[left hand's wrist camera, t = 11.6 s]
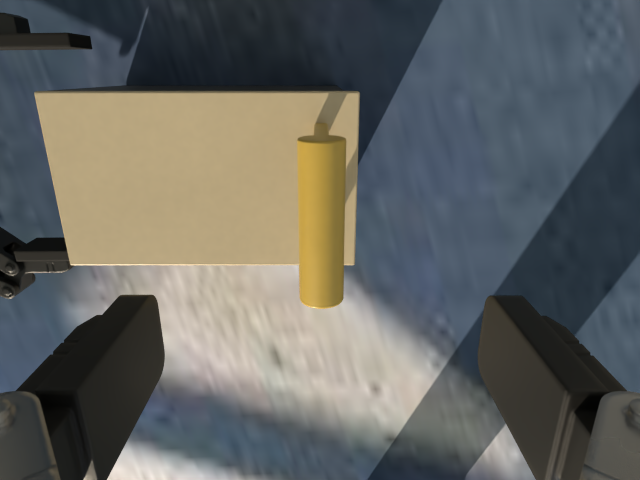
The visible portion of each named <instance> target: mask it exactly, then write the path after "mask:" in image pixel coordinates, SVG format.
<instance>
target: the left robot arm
mask: <svg viewBox="0 0 640 480" xmlns="http://www.w3.org/2000/svg"><path fill="white" fill-rule="evenodd" d="M164 358H165V353H164V344H163V337H162V330H161V323H160V316H159V309H158V303H157V300H156V298H155V296H154V295H120V296H119V297H118V298H117V299H116V300H115V301H114V302H113V303H112V305H111V306H110V307H109V308H108V309H107V310H106V311H105V312H104V313H103V315H96V316H95V317H93V318H91V319H89V320H88V321H86V322H84V323H83V324H81V325H79V326H77V327H76V328H75V329H74V330H73V331H72V333H71V334H70V335H69V336H68V337H67V338H66V339H65V340H64V343H61V344H60V345H59V346H58V347H57V348H56V349H55V350H54V351H53V355H50V356H49V357H48V358H47V359H46V360H45V361H44V362H43V363H42V364H41V365H40V366H39V367H38V368H37V369H36V370H35V371H34V372H33V373H32V374H31V375H30V376H29V378H28V379H27V380H26V381H25V382H24V383H23V384H22V385H21V386H20V387H19V388H18V389H17V390H16V391H11V392H4V393H0V480H107V478H108V476H109V474H110V472H111V470H112V469H113V467H114V465H115V463H116V461H117V459H118V457H119V455H120V453H121V451H122V449H123V448H124V446H125V444H126V442H127V440H128V438H129V436H130V434H131V432H132V430H133V428H134V427H135V425H136V423H137V421H138V419H139V417H140V415H141V413H142V411H143V409H144V407H145V406H146V404H147V402H148V400H149V398H150V396H151V394H152V392H153V390H154V388H155V387H156V385H157V383H158V381H159V379H160V377H161V374H162V371H163V367H164ZM478 365H479V371H480V374H481V377H482V379H483V381H484V383H485V385H486V386H487V388H488V390H489V392H490V394H491V396H492V398H493V400H494V402H495V403H496V405H497V407H498V409H499V411H500V413H501V415H502V417H503V419H504V420H505V422H506V424H507V426H508V428H509V430H510V432H511V434H512V435H513V437H514V439H515V441H516V443H517V445H518V447H519V449H520V451H521V452H522V454H523V456H524V458H525V460H526V462H527V464H528V466H529V468H530V469H531V471H532V473H533V475H534V477H535V479H536V480H640V393H636V392H629V391H627V390H626V389H625V388H624V387H623V386H622V385H621V384H620V383H619V382H618V381H617V380H616V379H615V378H614V377H613V376H612V375H611V374H610V373H609V372H608V371H607V370H606V369H605V368H604V366H603V365H602V364H601V363H600V362H599V361H598V360H597V359H596V358H595V357H594V356H591V355H590V352H589V351H588V350H587V349H586V348H585V347H584V346H583V345H582V344H579V341H578V340H577V338H576V337H575V336H574V335H573V334H572V333H571V332H570V331H569V330H568V329H567V328H566V327H564V326H562V325H561V324H559V323H557V322H556V321H554V320H552V319H550V318H549V317H547V316H541V315H540V314H539V313H538V312H537V311H536V310H535V309H534V308H533V307H532V305H531V304H530V303H529V302H528V301H527V300H526V299H525V298H524V297H523V296H489V297H488V298H487V299H486V302H485V306H484V313H483V320H482V327H481V334H480V341H479V348H478Z"/></svg>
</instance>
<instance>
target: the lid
mask: <svg viewBox="0 0 640 480" xmlns="http://www.w3.org/2000/svg"><path fill="white" fill-rule="evenodd" d="M34 94H35V99H36V103H37V108H38V113H39V118H40V122H41V127H42V132H43V137H44V142H45V146H46V151H47V156H48V161H49V165H50V170H51V175H52V180H53V185H54V189H55V194H56V199H57V204H58V208H59V213H60V218H61V223H62V228H63V232H64V237H65V242H66V247H67V251H68V256H69V261H70V265H299V284H300V300H301V302H302V303H303V304H304V305H306V306H309V307H312V308H318V309H325V308H331V307H335V306H337V305H339V304H340V303H341V302H342V300H343V285H344V265H354V264H355V240H356V206H357V172H358V138H359V103H360V93H359V92H358V91H37V92H35V93H34Z"/></svg>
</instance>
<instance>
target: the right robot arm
mask: <svg viewBox="0 0 640 480" xmlns="http://www.w3.org/2000/svg"><path fill="white" fill-rule="evenodd" d="M57 49H92V45H91V39H90V36H85V35H78V34H72V33H30V28H29V23H28V19H26V18H23V17H21V16H18V15H13V14H7V13H0V50H57ZM73 266H75V265H70V261H69V256H68V251H67V247H66V242H65V238H36V239H34V240H32V241H31V242H29V243H27V244H26V243H24V242H22V241H21V240H19V239H18V238H16V237H15V236H13V235H12V234H10V233H9V232H7V231H6V230H4V229H3V228H1V227H0V296H1V297H4V298H8V299H10V298H13V297H15V296H16V295H17V294H19V293H20V292H21V291H23V290H24V289H26V288H27V287H28V286H30V285H31V284H32V283H34V281H35V275H34V274H33V273H54V272H55V273H63V272H65V271H68V270H70V269H71V268H72V267H73Z"/></svg>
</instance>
